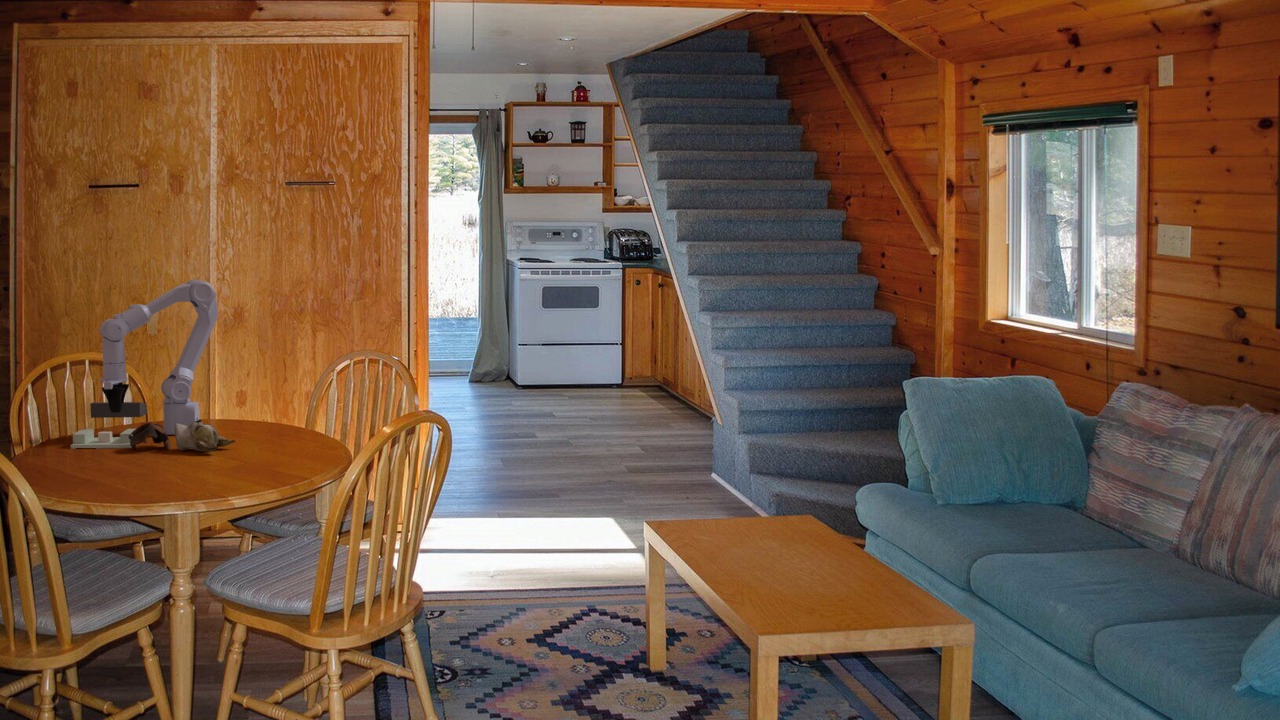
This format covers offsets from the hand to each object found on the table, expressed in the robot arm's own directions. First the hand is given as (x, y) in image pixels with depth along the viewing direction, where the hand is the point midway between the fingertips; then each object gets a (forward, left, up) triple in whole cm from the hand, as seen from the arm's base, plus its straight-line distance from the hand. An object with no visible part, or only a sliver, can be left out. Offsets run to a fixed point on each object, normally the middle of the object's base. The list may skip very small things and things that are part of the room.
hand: (116, 411), depth 341 cm
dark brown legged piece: (-13, +16, -8) cm, 23 cm away
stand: (0, +11, -7) cm, 13 cm away
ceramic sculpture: (-27, +20, -8) cm, 35 cm away
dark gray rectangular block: (0, -2, -2) cm, 3 cm away
